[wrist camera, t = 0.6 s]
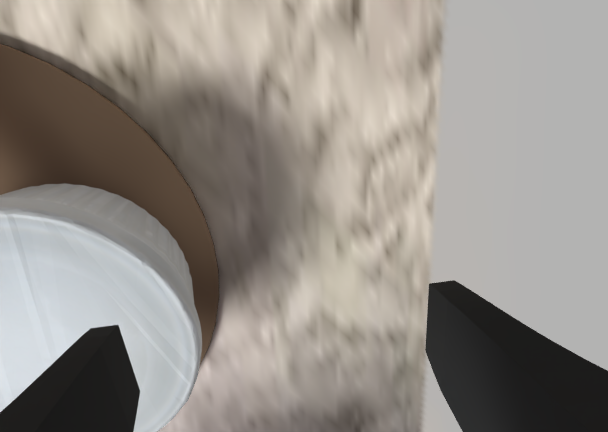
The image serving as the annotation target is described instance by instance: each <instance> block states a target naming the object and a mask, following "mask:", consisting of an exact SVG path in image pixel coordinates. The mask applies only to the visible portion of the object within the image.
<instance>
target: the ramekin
mask: <svg viewBox="0 0 608 432" xmlns="http://www.w3.org/2000/svg"><path fill="white" fill-rule="evenodd" d="M112 325H119V328H120V331H121V334H122V337H123V341H124V344H125V347H126V350H127V353H128V356H129V359H130V362H131V365H132V368H133V371H134V374H135V377H136V380H137V383H138V386H139V389H140V396H139V402H138V408H137V415H136V420H135V426H134V431H133V432H158V431H159V430H160V429H162V428H163V427H164V426H165V425H166V424H168V423H169V422H170V421H171V420H172V419H173V418H174V417H175V415H176V414H177V413H178V412H179V410H180V409H181V408H182V407H183V405H184V404H185V403H186V402H187V401H188V399H189V396H190V394H191V392H192V389H193V387H194V384H195V382H196V378H197V375H198V371H199V366H200V359H201V352H202V333H201V326H200V321H199V317H198V314H197V311H196V308H195V305H194V297H193V286H192V278H191V275H190V273H189V266H188V263H187V262H186V260H185V257H184V254H183V252H182V250H181V249H180V248H179V246H178V243H177V241H176V240H175V239H174V238H173V237H172V236H171V234H170V233H169V231H168V230H167V229H166V228H165V227H164V226H162V225H161V224H160V222H159V221H158V220H157V219H156V218H155V217H153V216H152V215H150V214H149V213H148V212H147V211H146V210H145V209H143V208H141V207H139V206H138V205H136V204H135V203H133V202H132V201H130V200H127V199H125V198H123V197H121V196H119V195H117V194H113V193H110V192H107V191H105V190H103V189H99V188H92V187H88V186H85V185H72V184H66V183H64V184H44V185H40V186H31V187H27V188H23V189H20V190H16V191H12V192H9V193H5V194H2V195H0V412H1V411H2V410H3V409H4V408H6V407H7V406H8V405H9V404H10V403H11V402H12V401H13V400H15V399H16V398H17V397H18V396H19V395H20V394H21V393H22V392H23V391H24V390H25V389H26V388H27V387H28V386H29V385H31V384H32V383H33V382H34V381H35V380H36V379H37V378H38V377H39V376H40V375H41V374H42V373H43V372H44V371H45V370H46V369H47V368H49V367H50V366H51V365H52V364H53V363H54V362H55V361H56V360H57V359H58V358H59V357H60V356H61V355H62V354H63V353H64V352H65V351H66V350H67V349H68V348H69V347H71V346H72V345H73V344H74V343H75V342H76V341H77V340H78V339H79V338H80V337H81V336H82V335H83V334H85V333H86V332H87V331H88V330H89V329H90V328H97V327H104V326H112Z"/></svg>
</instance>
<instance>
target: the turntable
mask: <svg viewBox="0 0 608 432" xmlns="http://www.w3.org/2000/svg"><path fill="white" fill-rule="evenodd" d="M64 183H66V184H72V185H85V186H88V187H92V188H99V189H103V190H105V191H107V192H110V193H113V194H117V195H119V196H121V197H123V198H125V199H127V200H130V201H132V202H133V203H135V204H136V205H138V206H139V207H141V208H143V209H145V210H146V211H147V212H148V213H149V214H150V215H152V216H153V217H155V218H156V219H157V220H158V221H159V222H160V224H161V225H162V226H164V227H165V228H166V229H167V230H168V231H169V233H170V234H171V236H172V237H173V238H174V239H175V240H176V241H177V243H178V246H179V248H180V249H181V250H182V252H183V254H184V257H185V260H186V262H187V263H188V266H189V273H190V275H191V278H192V286H193V297H194V305H195V308H196V311H197V314H198V317H199V321H200V326H201V333H202V352H201V359H200V364H201V362H202V360H203V358H204V355H205V353H206V351H207V349H208V347H209V344H210V341H211V337H212V334H213V330H214V327H215V324H216V316H217V308H218V300H219V275H218V265H217V260H216V254H215V249H214V243H213V240H212V237H211V235H210V232H209V229H208V226H207V223H206V220H205V217H204V215H203V213H202V211H201V209H200V207H199V205H198V203H197V201H196V199H195V197H194V195H193V193H192V191H191V189H190V187H189V186H188V184H187V183H186V181H185V180H184V178H183V177H182V175H181V174H180V172H179V171H178V169H177V168H176V166H175V165H174V163H173V162H172V161H171V159H170V158H169V157H168V156H167V155H166V154H165V153H164V151H163V150H162V149H161V148H160V147H159V146H158V144H157V143H156V142H155V141H154V140H153V139H152V138H151V136H150V135H149V134H148V133H147V132H146V131H145V130H143V129H142V128H141V127H140V126H139V125H138V124H137V123H136V122H135V121H133V120H132V119H131V118H130V117H129V116H128V115H127V114H126V113H125V112H124V111H122V110H121V109H120V108H119V107H118V106H116V105H115V104H113V103H112V102H111V101H109V100H108V99H106V98H105V97H104V96H102V95H101V94H99V93H98V92H97V91H95V90H94V89H92V88H91V87H90V86H88V85H87V84H85V83H83V82H82V81H80V80H78V79H76V78H74V77H73V76H71V75H69V74H67V73H66V72H64V71H62V70H60V69H58V68H57V67H55V66H53V65H51V64H49V63H47V62H45V61H42V60H40V59H38V58H35V57H33V56H31V55H28V54H26V53H24V52H21V51H19V50H16V49H14V48H12V47H9V46H6V45H3V44H0V195H2V194H5V193H9V192H12V191H16V190H20V189H23V188H27V187H31V186H40V185H44V184H64Z"/></svg>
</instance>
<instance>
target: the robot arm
mask: <svg viewBox="0 0 608 432" xmlns="http://www.w3.org/2000/svg"><path fill="white" fill-rule="evenodd" d="M426 353H427V356H428V359H429V361H430V364H431V366H432V369H433V372H434V374H435V377H436V379H437V382H438V384H439V387H440V389H441V391H442V393H443V395H444V397H445V399H446V401H447V403H448V405H449V407H450V409H451V410H452V412H453V414H454V416H455V418H456V420H457V422H458V423H459V425H460V427H461V429H462V431H463V432H608V371H607V370H605V369H603V368H601V367H599V366H597V365H595V364H593V363H591V362H589V361H587V360H585V359H583V358H582V357H580V356H578V355H576V354H575V353H573V352H571V351H569V350H567V349H566V348H564V347H562V346H560V345H558V344H557V343H555V342H553V341H551V340H550V339H548V338H546V337H544V336H543V335H541V334H539V333H537V332H536V331H534V330H533V329H531V328H529V327H528V326H526V325H524V324H523V323H521V322H520V321H518V320H516V319H515V318H513V317H512V316H510V315H508V314H507V313H505V312H503V311H502V310H500V309H499V308H497V307H495V306H494V305H493V304H491V303H490V302H488V301H486V300H485V299H483V298H482V297H480V296H479V295H477V294H476V293H474V292H472V291H471V290H469V289H467V288H466V287H464V286H463V285H461V284H459V283H458V282H456V281H447V282H439V283H431V284H429V296H428V315H427V333H426ZM139 396H140V389H139V386H138V383H137V380H136V377H135V374H134V371H133V368H132V365H131V362H130V359H129V356H128V353H127V350H126V347H125V344H124V341H123V337H122V334H121V331H120V328H119V325H112V326H104V327H97V328H90V329H89V330H88V331H87V332H86V333H85V334H83V335H82V336H81V337H80V338H79V339H78V340H77V341H76V342H75V343H74V344H73V345H72V346H71V347H69V348H68V349H67V350H66V351H65V352H64V353H63V354H62V355H61V356H60V357H59V358H58V359H57V360H56V361H55V362H54V363H53V364H52V365H51V366H50V367H49V368H47V369H46V370H45V371H44V372H43V373H42V374H41V375H40V376H39V377H38V378H37V379H36V380H35V381H34V382H33V383H32V384H31V385H29V386H28V387H27V388H26V389H25V390H24V391H23V392H22V393H21V394H20V395H19V396H18V397H17V398H16V399H15V400H13V401H12V402H11V403H10V404H9V405H8V406H7V407H6V408H4V409H3V410H2V411H1V412H0V432H133V431H134V426H135V420H136V415H137V408H138V402H139Z"/></svg>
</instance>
